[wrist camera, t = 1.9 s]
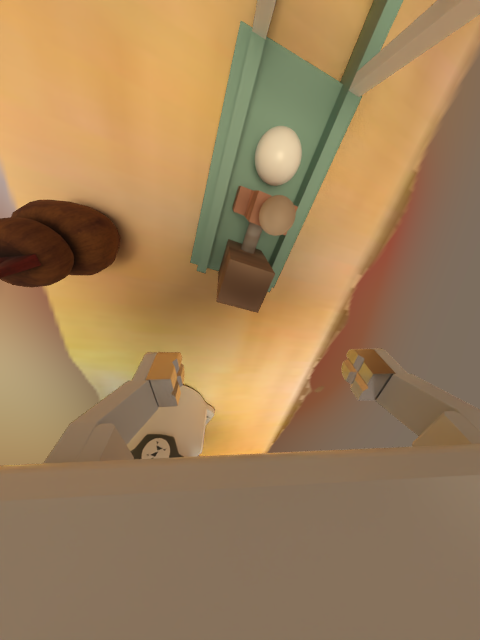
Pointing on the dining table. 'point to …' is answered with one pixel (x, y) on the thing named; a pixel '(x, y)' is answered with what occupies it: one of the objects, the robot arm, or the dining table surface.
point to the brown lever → (252, 249)
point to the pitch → (299, 116)
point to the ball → (278, 155)
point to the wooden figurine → (55, 243)
